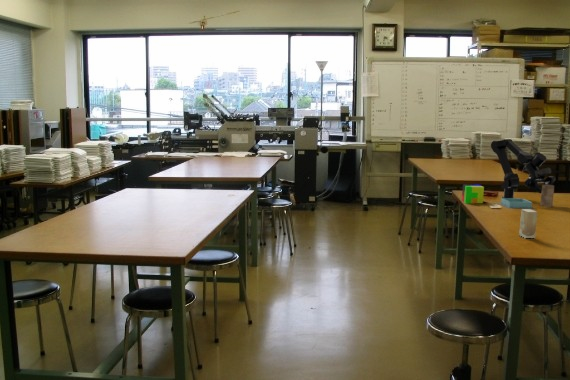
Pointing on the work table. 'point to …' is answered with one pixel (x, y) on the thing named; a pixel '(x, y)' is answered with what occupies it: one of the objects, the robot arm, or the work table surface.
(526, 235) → the skincare box
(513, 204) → the dish
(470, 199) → the puzzle toy
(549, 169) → the robot arm
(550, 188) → the block
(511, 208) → the mat
